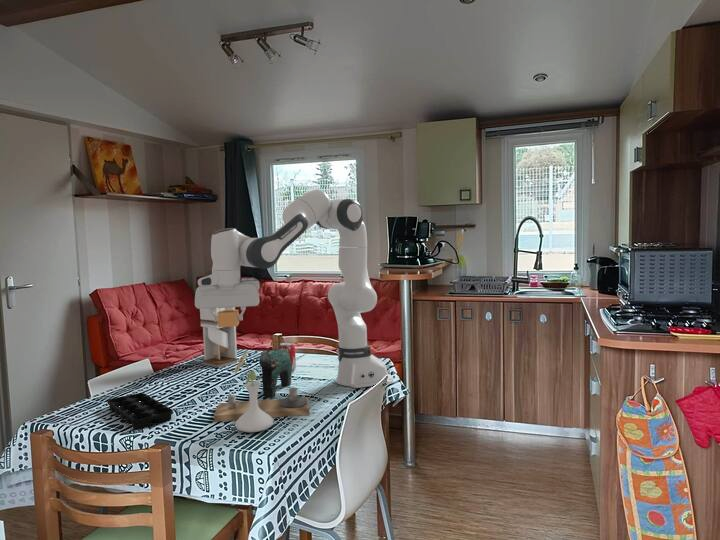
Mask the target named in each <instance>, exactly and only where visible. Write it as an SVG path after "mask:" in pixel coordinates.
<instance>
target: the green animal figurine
mask: <svg viewBox="0 0 720 540" xmlns="http://www.w3.org/2000/svg"><path fill="white" fill-rule="evenodd" d="M274 342H275V343H277V340H276V339H272V341H271V342H270V348H268V349H267V350H262V351H261V352H260V355H259V365H260V368H261V381H262V382H261V383H262V394H263V399H273V398H275V397H276V393H277V391H276V389H277V382H278V378H279V380H280V384H281V385H280V386H281V387H286V386H287V387H289V386H291V384H292V375H293V374H292V373H293V372H292V362H291V358H290V355H289V353H288V351H287V350H286V347H285V346H284V345H281V346H280V345H279V346H278V347H277V348H274V349H273V343H274ZM280 347H284V348H285V350H284V349H279V348H280ZM270 349H271V350H270Z"/></svg>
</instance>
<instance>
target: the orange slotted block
mask: <svg viewBox="0 0 720 540" xmlns="http://www.w3.org/2000/svg"><path fill="white" fill-rule="evenodd" d="M238 315H240V313H239V309H235V310H221V311H219V312H218V313H217V316H218V327H233V326H236V327H238V326H239V324H240V321H238Z"/></svg>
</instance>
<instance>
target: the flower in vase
mask: <svg viewBox="0 0 720 540" xmlns="http://www.w3.org/2000/svg"><path fill="white" fill-rule="evenodd" d="M248 352H249V350H248V349H245V350H244V352H243V354H242V356H241V358H240V359H239V362H237V366H236V367H235V369H234V371H233V373H234V374H235V375H236V374H237V373H238V372H239V370H240V369H241V367H242V366H243V365H245V367H246V370H247V371H248V373H249V374H248V375H247V378H246V381H245V383H244V385H243V386H245V388H246V390H247V392H248V395H249V396H248V397H249V401H250V407H249V409H248V410H247V411H246V412H245V413H244V414H243V415H242V416H241V417H240V418H239V419H238V420H235V421H236V422H235V425H234V426H235V428H236V429H237V431H240V432H244V433H257V432H262V431H265V430H268V429H269V428H271V427H272V426H273V424H274V422H275V421H274V418H273V417H271V416H270V415H268V414H267V413H265V412H264V411H262V410H261V409H260V408H259V407H258V403H257V401H258V393H259V389H260V387H261V385H262V382H260V381H255V380H256V379H257V376H258V375H257V374H256V372H255V370H254V369H252V370H251V369H250V368H249V366H248V365H247V363H246V361H245V359H246V357H247V354H248ZM250 370H251V371H250Z"/></svg>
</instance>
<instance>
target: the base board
mask: <svg viewBox="0 0 720 540" xmlns="http://www.w3.org/2000/svg"><path fill="white" fill-rule="evenodd" d="M257 403H258V407H259V408H260V409H261V410H262V411H264V412H265V413H267V414H268V415H270V416H271V417H272V418H280V417H281V418H282V417H283V416H284V417H295V416H308V415H310V404H309V403H310V402H309V397H308V396H306V397H305V396H304V397H303V396H298V388H296V387H291V388H289V389H288V397H284V398H274V399H273V398H272V399H262V400H261V399H260V400H257ZM249 407H250V400H246V401H237V397H236V395H235V394H231V395H227V402H219V403H218V404H217V407H216V410H215V412H214V414H213V421H214V422H215V421H217V422H228V421H229V422H230V421H237V420H238V419H239V418H240V417H241V416H242V415H243V414H244V413H245V412H246V411H247V410H248V409H249Z"/></svg>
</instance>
